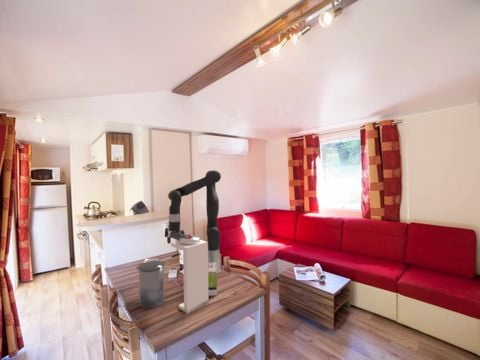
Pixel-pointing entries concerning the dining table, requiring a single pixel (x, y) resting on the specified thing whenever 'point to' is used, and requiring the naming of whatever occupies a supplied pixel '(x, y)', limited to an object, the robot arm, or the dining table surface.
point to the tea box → (212, 279)
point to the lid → (185, 238)
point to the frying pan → (157, 258)
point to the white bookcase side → (194, 275)
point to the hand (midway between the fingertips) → (174, 244)
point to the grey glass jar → (151, 284)
